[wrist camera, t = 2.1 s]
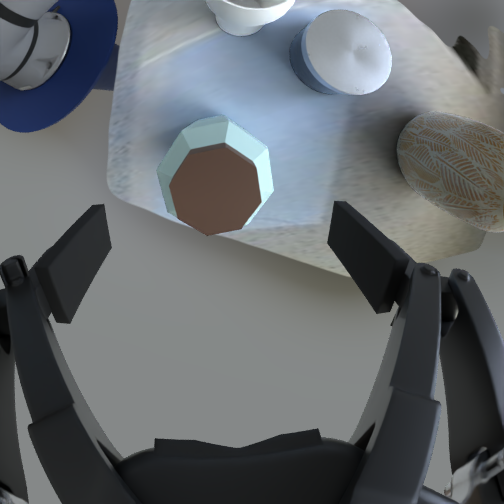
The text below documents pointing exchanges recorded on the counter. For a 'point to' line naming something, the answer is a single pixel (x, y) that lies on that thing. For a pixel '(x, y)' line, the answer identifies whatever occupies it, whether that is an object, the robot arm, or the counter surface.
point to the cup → (247, 14)
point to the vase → (456, 166)
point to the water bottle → (215, 176)
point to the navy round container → (341, 54)
